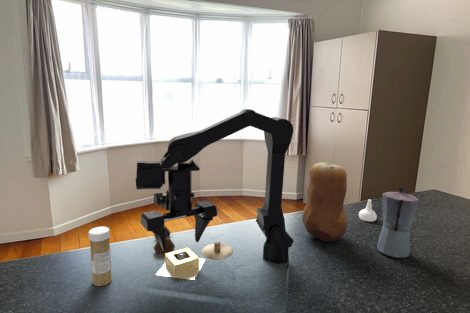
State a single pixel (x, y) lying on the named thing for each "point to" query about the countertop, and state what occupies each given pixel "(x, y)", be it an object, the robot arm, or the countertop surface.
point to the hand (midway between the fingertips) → (180, 245)
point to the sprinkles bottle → (100, 255)
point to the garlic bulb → (368, 213)
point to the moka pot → (397, 223)
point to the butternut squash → (326, 202)
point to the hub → (189, 275)
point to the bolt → (169, 244)
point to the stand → (217, 251)
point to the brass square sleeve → (181, 262)
